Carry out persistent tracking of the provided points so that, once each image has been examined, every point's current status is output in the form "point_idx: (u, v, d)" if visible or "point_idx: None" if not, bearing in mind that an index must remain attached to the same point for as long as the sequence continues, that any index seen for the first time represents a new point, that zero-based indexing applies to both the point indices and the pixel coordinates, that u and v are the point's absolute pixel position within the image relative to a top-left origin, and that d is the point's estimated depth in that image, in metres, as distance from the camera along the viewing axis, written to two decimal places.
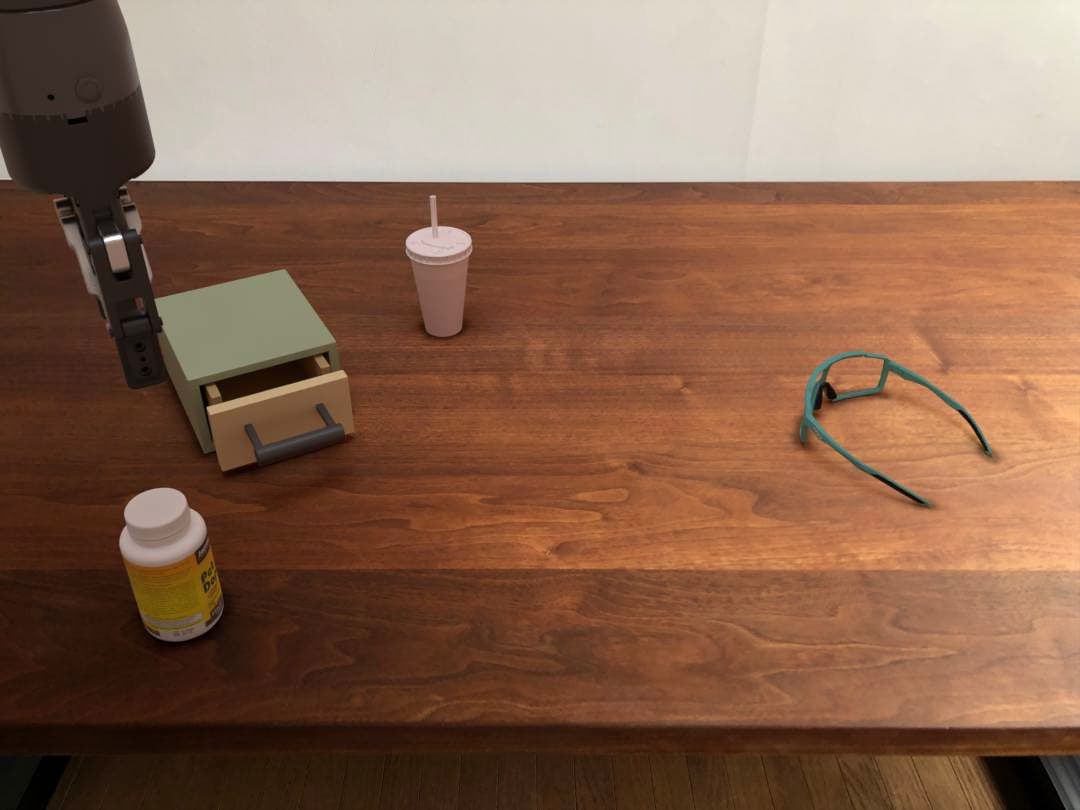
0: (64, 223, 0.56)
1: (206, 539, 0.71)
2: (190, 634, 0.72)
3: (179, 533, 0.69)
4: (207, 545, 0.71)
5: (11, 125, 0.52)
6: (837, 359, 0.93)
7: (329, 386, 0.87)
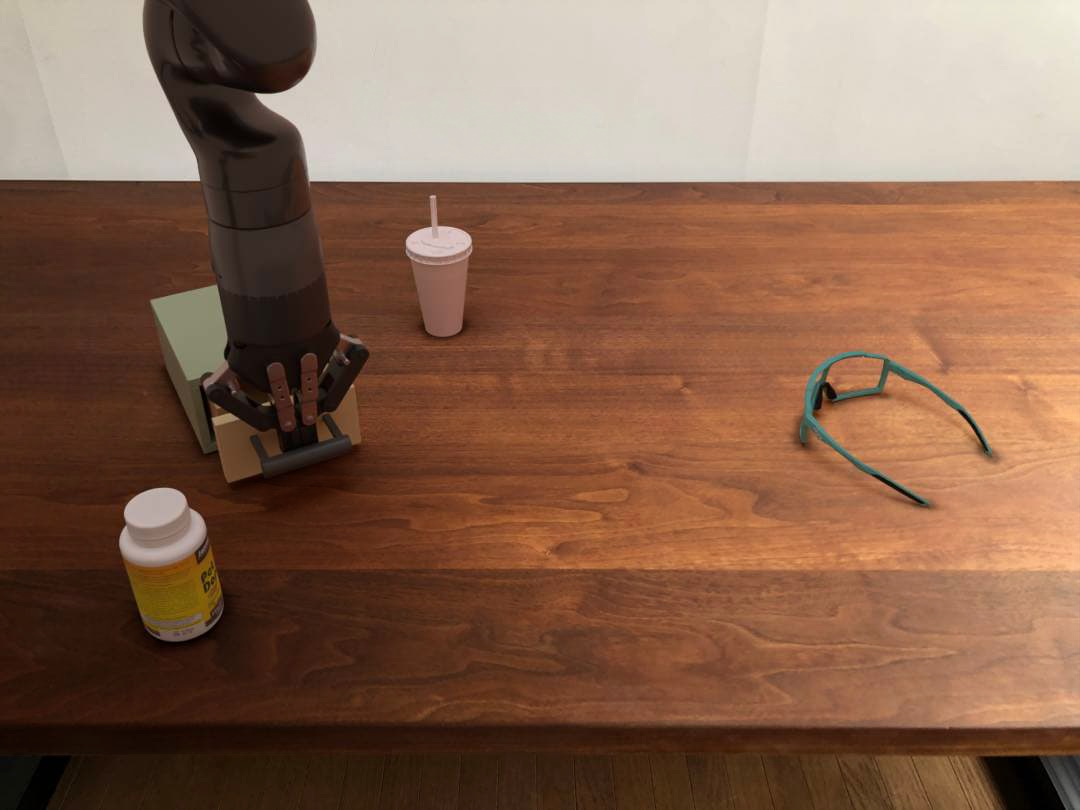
0: (316, 356, 0.78)
1: (206, 539, 0.71)
2: (190, 634, 0.72)
3: (179, 533, 0.69)
4: (207, 545, 0.71)
5: (316, 288, 0.73)
6: (837, 359, 0.93)
7: None
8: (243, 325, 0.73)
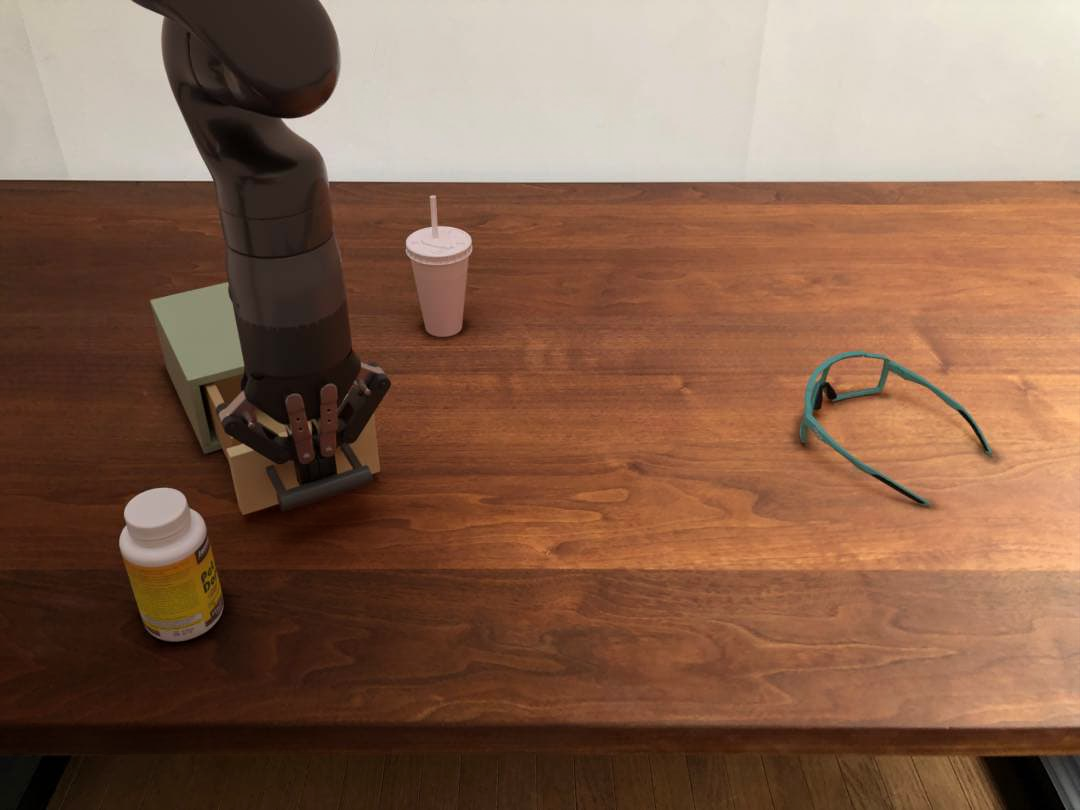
0: (336, 387, 0.75)
1: (206, 539, 0.71)
2: (190, 634, 0.72)
3: (179, 533, 0.69)
4: (207, 545, 0.71)
5: (337, 317, 0.70)
6: (837, 359, 0.93)
7: None
8: (261, 356, 0.70)
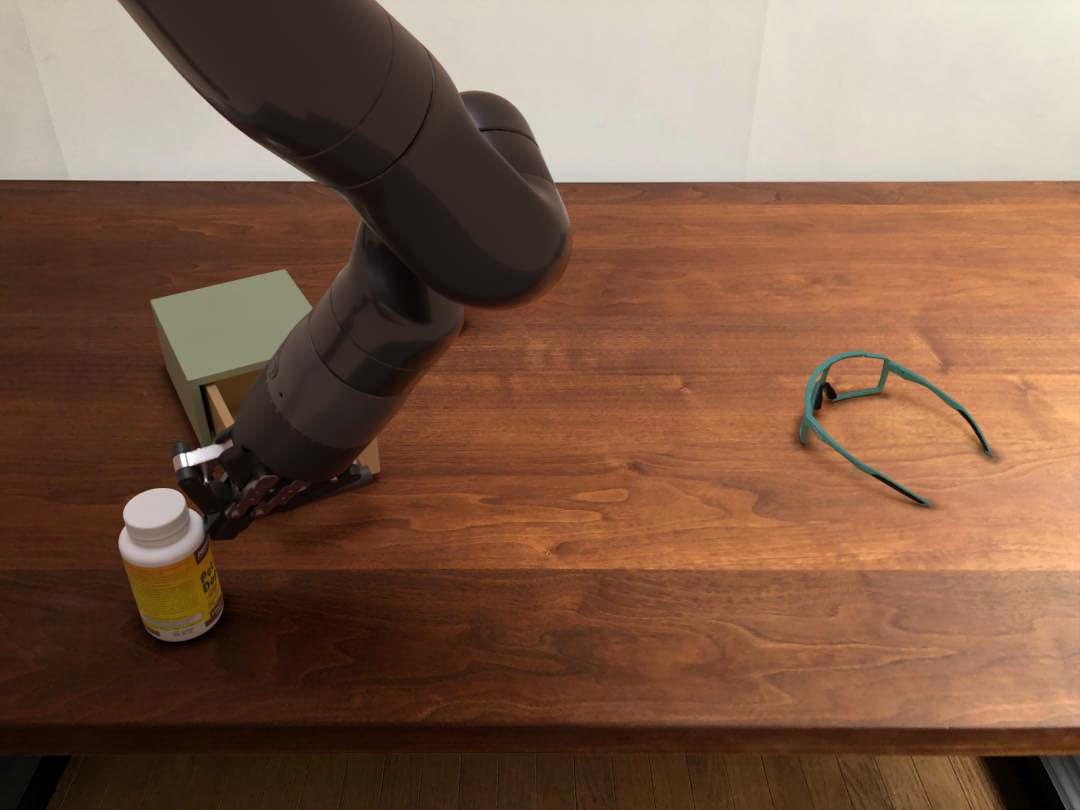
0: None
1: (205, 539, 0.71)
2: (190, 634, 0.72)
3: (178, 533, 0.69)
4: (206, 545, 0.71)
5: (371, 441, 0.62)
6: (837, 359, 0.93)
7: None
8: (272, 447, 0.60)
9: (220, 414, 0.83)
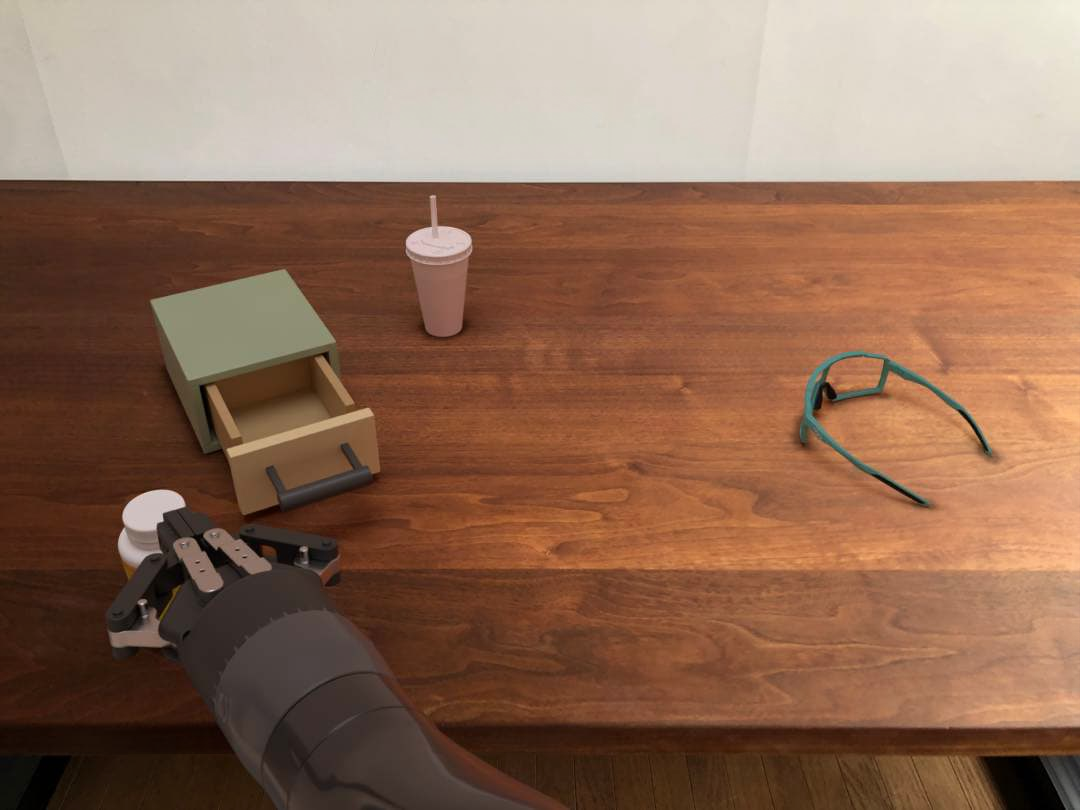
0: None
1: None
2: None
3: None
4: None
5: None
6: (837, 359, 0.93)
7: (355, 426, 0.83)
8: None
9: (220, 414, 0.83)
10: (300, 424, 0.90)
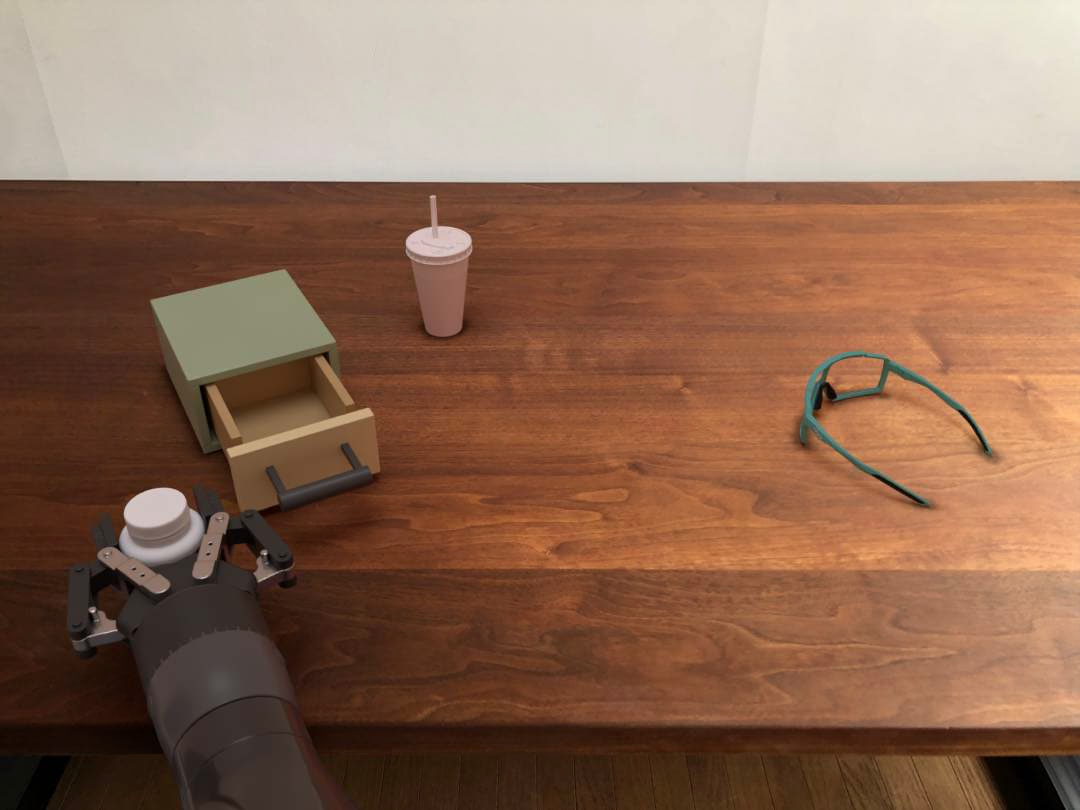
0: None
1: None
2: None
3: (180, 532, 0.69)
4: None
5: None
6: (837, 359, 0.93)
7: (355, 426, 0.83)
8: None
9: (220, 414, 0.83)
10: (300, 424, 0.90)
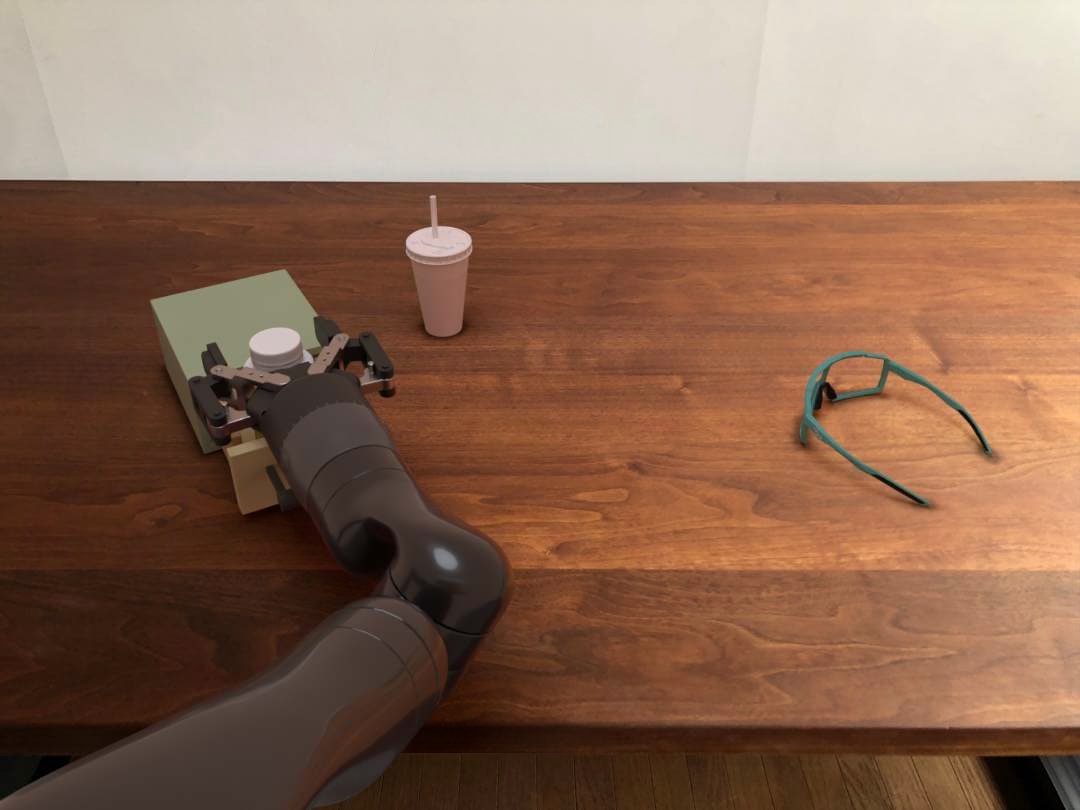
0: None
1: None
2: None
3: (295, 362, 0.81)
4: None
5: None
6: (837, 359, 0.93)
7: None
8: None
9: None
10: None
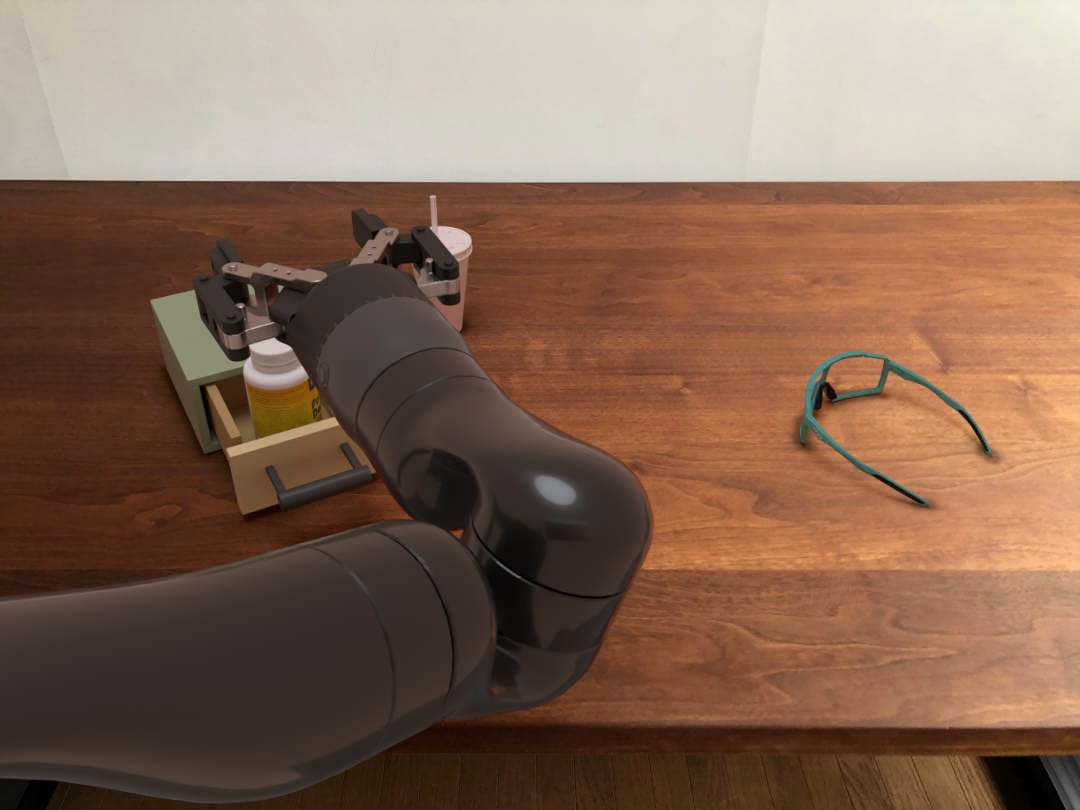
0: None
1: None
2: None
3: (296, 362, 0.81)
4: None
5: None
6: (837, 359, 0.93)
7: None
8: None
9: (220, 414, 0.83)
10: None
